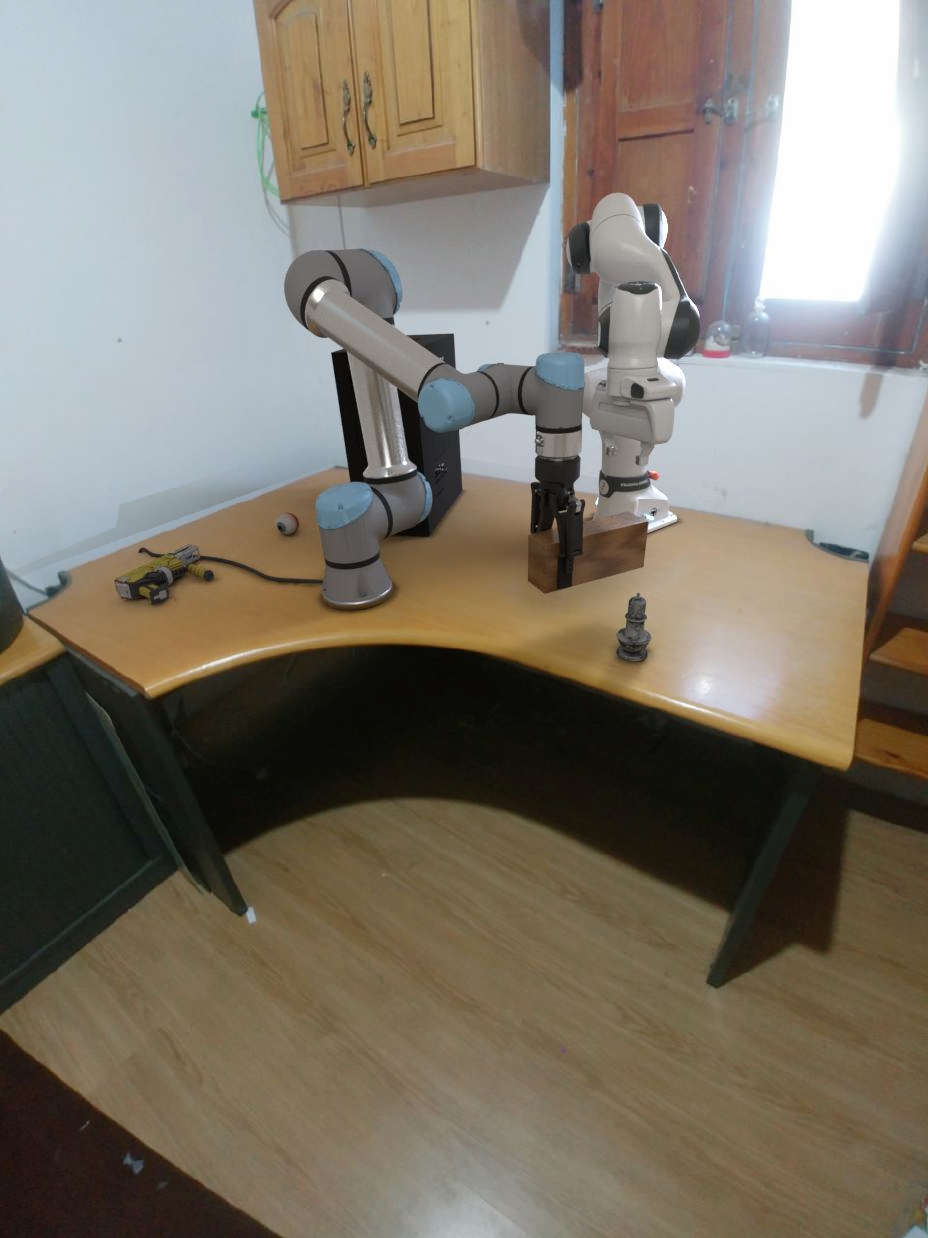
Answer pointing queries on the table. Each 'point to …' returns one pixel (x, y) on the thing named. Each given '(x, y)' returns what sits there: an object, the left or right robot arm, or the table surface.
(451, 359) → the black computer tower
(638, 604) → the grey chess piece
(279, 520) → the eyeball
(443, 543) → the table surface
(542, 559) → the box
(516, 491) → the table surface
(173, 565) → the toy gun
